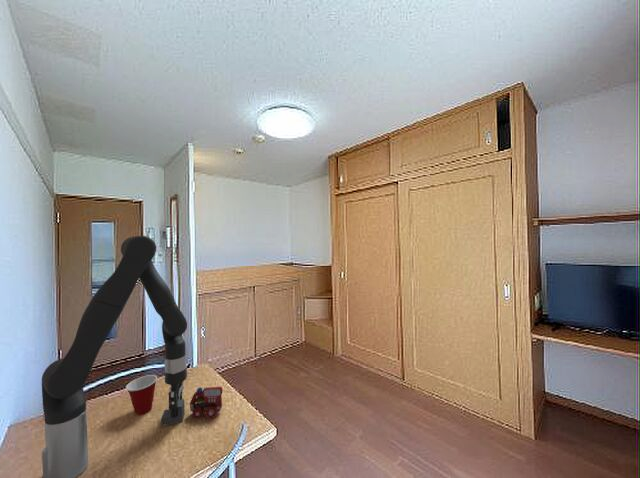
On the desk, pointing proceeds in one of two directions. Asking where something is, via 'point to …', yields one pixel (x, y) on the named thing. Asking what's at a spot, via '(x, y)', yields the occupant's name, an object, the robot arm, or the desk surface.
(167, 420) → the grey stepped block
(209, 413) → the toy fire truck
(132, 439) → the desk surface
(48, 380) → the robot arm
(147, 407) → the plastic cup
